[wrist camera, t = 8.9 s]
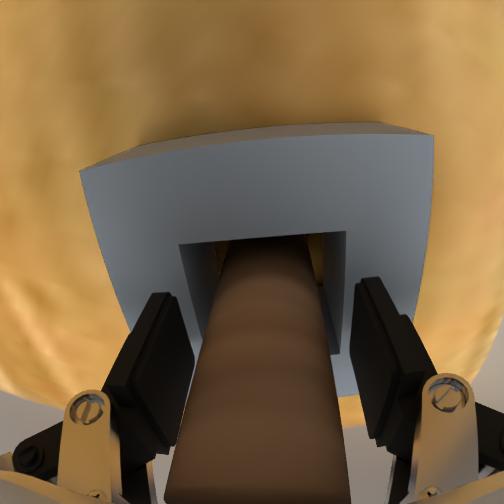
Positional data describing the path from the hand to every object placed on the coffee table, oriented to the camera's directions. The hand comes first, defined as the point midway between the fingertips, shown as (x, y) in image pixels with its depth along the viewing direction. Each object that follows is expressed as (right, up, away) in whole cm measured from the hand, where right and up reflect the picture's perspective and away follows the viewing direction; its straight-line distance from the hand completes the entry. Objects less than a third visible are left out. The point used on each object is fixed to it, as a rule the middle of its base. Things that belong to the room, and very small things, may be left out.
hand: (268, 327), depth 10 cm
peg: (0, +3, +5) cm, 6 cm away
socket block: (0, +3, +5) cm, 6 cm away
